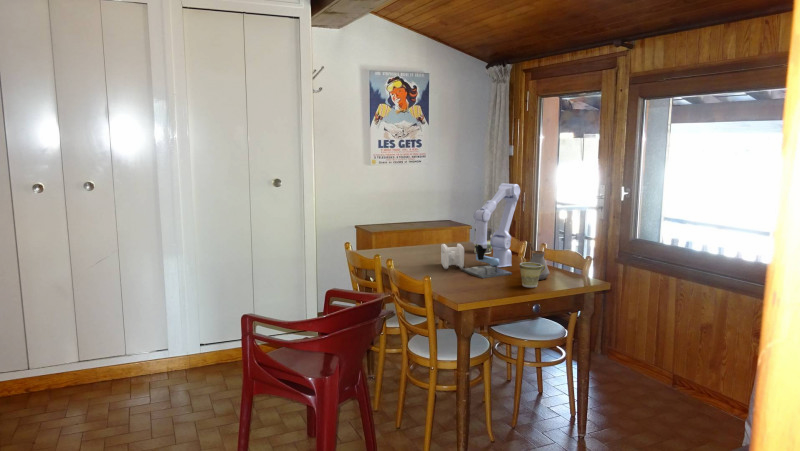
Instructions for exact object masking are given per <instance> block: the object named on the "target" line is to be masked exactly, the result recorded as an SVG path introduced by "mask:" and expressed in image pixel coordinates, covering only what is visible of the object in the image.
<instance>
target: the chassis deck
mask: <svg viewBox="0 0 800 451" xmlns="http://www.w3.org/2000/svg"><path fill="white" fill-rule="evenodd" d="M460 270H461V272H464V273H467V274H469V275H473V276H475V277H477V278H481V279H487V278H495V277H496V278H497V277H503V276H511V275H513V272H511V271H509V270H505V269H502V268H500V267H497V271H495V272H492V273H484V274H475V273H472V272H471V267H465V268H464V267H463V268H462V269H460Z"/></svg>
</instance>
